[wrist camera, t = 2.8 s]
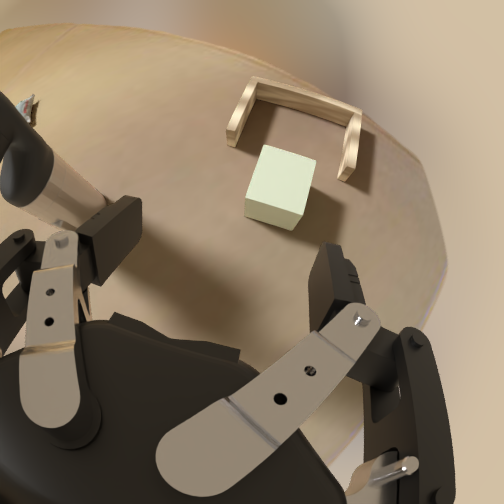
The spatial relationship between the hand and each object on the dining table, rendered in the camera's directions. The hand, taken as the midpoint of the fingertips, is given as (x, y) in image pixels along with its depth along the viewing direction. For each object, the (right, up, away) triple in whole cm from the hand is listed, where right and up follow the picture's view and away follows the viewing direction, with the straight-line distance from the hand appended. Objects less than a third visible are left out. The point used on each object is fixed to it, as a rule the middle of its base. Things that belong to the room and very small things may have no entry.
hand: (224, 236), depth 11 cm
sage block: (+5, +8, +33) cm, 34 cm away
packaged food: (-62, +36, +36) cm, 80 cm away
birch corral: (+9, +22, +36) cm, 43 cm away
